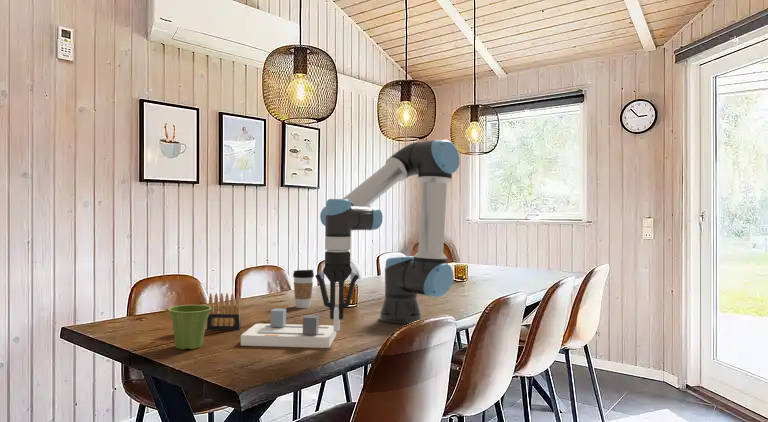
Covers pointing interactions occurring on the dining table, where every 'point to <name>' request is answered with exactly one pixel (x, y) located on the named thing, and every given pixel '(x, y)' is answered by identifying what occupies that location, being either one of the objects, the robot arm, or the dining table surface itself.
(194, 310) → the plant pot
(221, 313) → the ammunition clip
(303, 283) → the coffee cup
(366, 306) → the dining table surface
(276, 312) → the tab back
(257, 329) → the switch panel
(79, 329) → the dining table surface
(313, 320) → the tab front
